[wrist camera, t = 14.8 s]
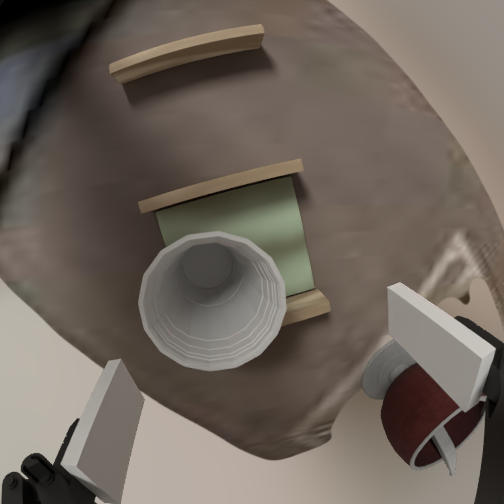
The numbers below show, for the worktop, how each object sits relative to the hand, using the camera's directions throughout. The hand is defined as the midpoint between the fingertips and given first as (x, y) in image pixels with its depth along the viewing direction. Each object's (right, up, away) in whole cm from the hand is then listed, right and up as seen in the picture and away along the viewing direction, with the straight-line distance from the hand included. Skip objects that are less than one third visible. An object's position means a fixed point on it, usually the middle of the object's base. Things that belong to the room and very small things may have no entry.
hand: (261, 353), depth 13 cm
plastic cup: (-5, +3, +19) cm, 20 cm away
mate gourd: (+23, -15, +27) cm, 38 cm away
